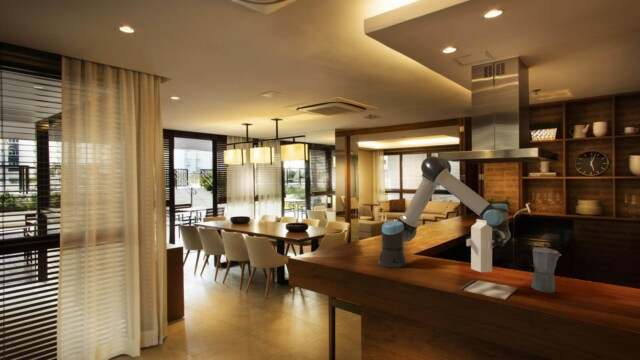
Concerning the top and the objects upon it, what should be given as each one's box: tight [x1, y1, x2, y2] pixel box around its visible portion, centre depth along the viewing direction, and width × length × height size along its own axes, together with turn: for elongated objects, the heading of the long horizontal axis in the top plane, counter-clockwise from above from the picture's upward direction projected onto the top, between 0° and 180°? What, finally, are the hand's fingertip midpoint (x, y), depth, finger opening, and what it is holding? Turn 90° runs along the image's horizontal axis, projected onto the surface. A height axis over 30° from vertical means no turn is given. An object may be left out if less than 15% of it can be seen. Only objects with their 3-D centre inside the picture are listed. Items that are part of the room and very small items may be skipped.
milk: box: [470, 218, 493, 273], centre depth 152 cm, size 6×6×22 cm
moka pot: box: [525, 243, 562, 294], centre depth 151 cm, size 10×15×20 cm, turn 28°
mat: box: [457, 279, 518, 300], centre depth 151 cm, size 19×18×1 cm
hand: (477, 244), depth 149 cm, fingers closed on milk, 8 cm apart
